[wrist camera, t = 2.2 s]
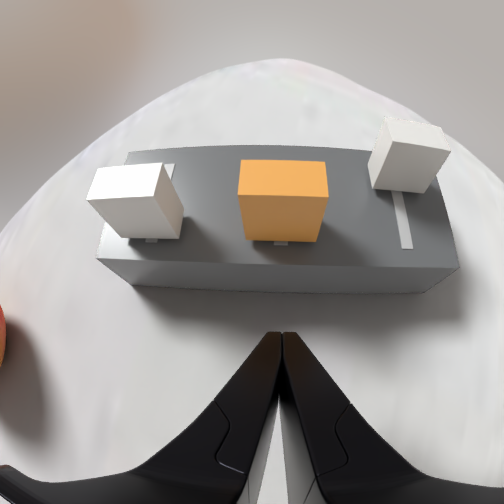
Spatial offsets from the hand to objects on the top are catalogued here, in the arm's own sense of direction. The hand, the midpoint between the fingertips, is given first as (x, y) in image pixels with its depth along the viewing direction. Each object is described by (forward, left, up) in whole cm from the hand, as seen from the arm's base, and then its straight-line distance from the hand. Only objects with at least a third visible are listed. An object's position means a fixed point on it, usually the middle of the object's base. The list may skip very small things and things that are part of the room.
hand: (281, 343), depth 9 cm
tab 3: (+4, -11, -5) cm, 13 cm away
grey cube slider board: (+7, -5, -10) cm, 13 cm away
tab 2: (+5, -4, -5) cm, 8 cm away
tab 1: (+9, +2, -5) cm, 11 cm away
